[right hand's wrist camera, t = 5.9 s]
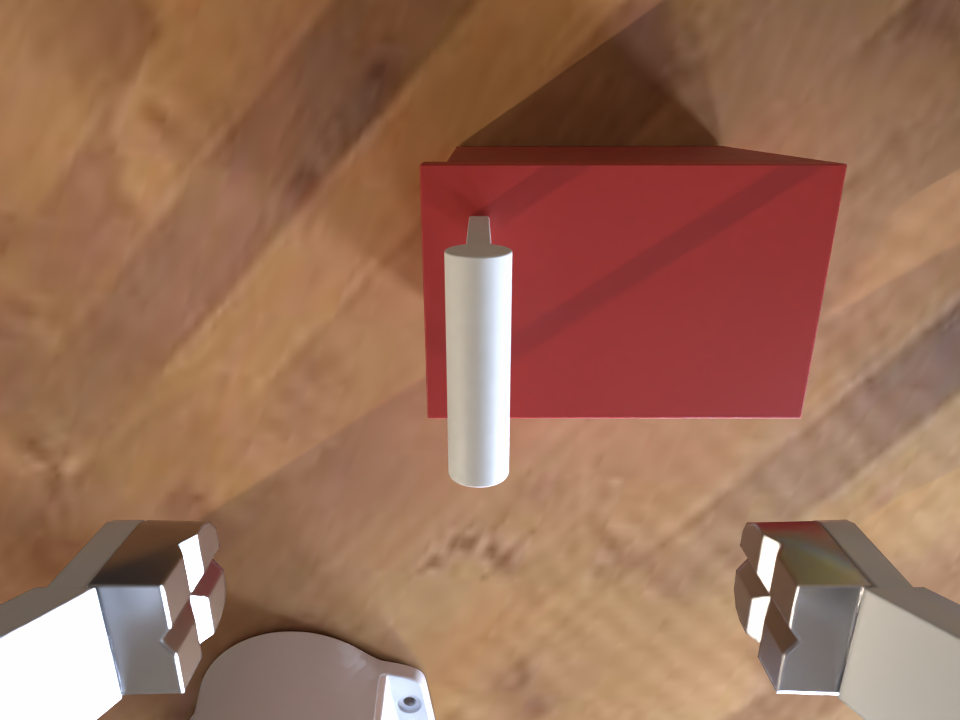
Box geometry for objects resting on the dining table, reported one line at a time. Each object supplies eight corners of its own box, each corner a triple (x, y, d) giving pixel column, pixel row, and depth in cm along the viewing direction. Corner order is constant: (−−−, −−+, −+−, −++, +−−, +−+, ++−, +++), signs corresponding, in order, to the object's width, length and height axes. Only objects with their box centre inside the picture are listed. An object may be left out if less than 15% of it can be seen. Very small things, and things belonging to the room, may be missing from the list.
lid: (429, 405, 27) (407, 537, 19) (422, 161, 24) (390, 189, 16) (787, 405, 27) (924, 537, 19) (829, 161, 24) (1018, 188, 16)
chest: (458, 323, 38) (450, 404, 27) (456, 146, 35) (445, 161, 24) (701, 323, 38) (786, 404, 27) (723, 146, 35) (829, 161, 24)
